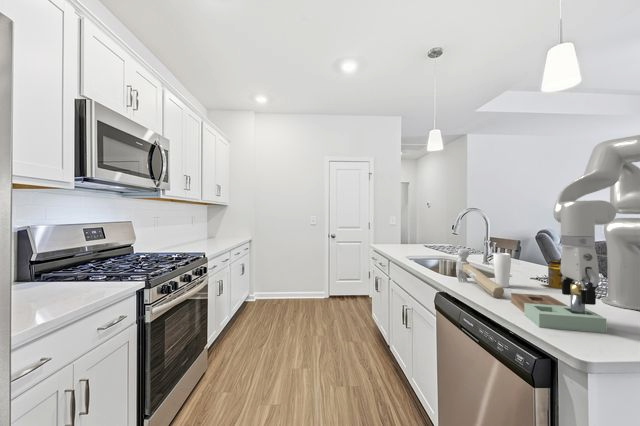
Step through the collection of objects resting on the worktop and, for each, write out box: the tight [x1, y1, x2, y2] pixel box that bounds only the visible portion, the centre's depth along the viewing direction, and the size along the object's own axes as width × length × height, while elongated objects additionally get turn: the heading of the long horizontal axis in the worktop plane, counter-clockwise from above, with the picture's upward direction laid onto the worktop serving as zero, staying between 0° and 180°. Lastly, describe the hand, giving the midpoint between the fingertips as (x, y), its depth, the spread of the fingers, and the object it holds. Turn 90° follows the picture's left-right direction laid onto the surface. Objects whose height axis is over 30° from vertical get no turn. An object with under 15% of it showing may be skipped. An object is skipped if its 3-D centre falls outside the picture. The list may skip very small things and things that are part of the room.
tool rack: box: [523, 303, 607, 334], centre depth 85 cm, size 16×10×4 cm, turn 74°
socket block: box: [510, 292, 568, 313], centre depth 98 cm, size 12×12×4 cm
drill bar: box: [570, 283, 586, 314], centre depth 84 cm, size 3×3×12 cm
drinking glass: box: [492, 252, 512, 289], centre depth 128 cm, size 7×7×15 cm
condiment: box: [540, 259, 562, 291], centre depth 126 cm, size 7×8×12 cm
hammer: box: [455, 248, 505, 299], centre depth 125 cm, size 16×5×30 cm
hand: (577, 299), depth 84 cm, fingers open, 9 cm apart
